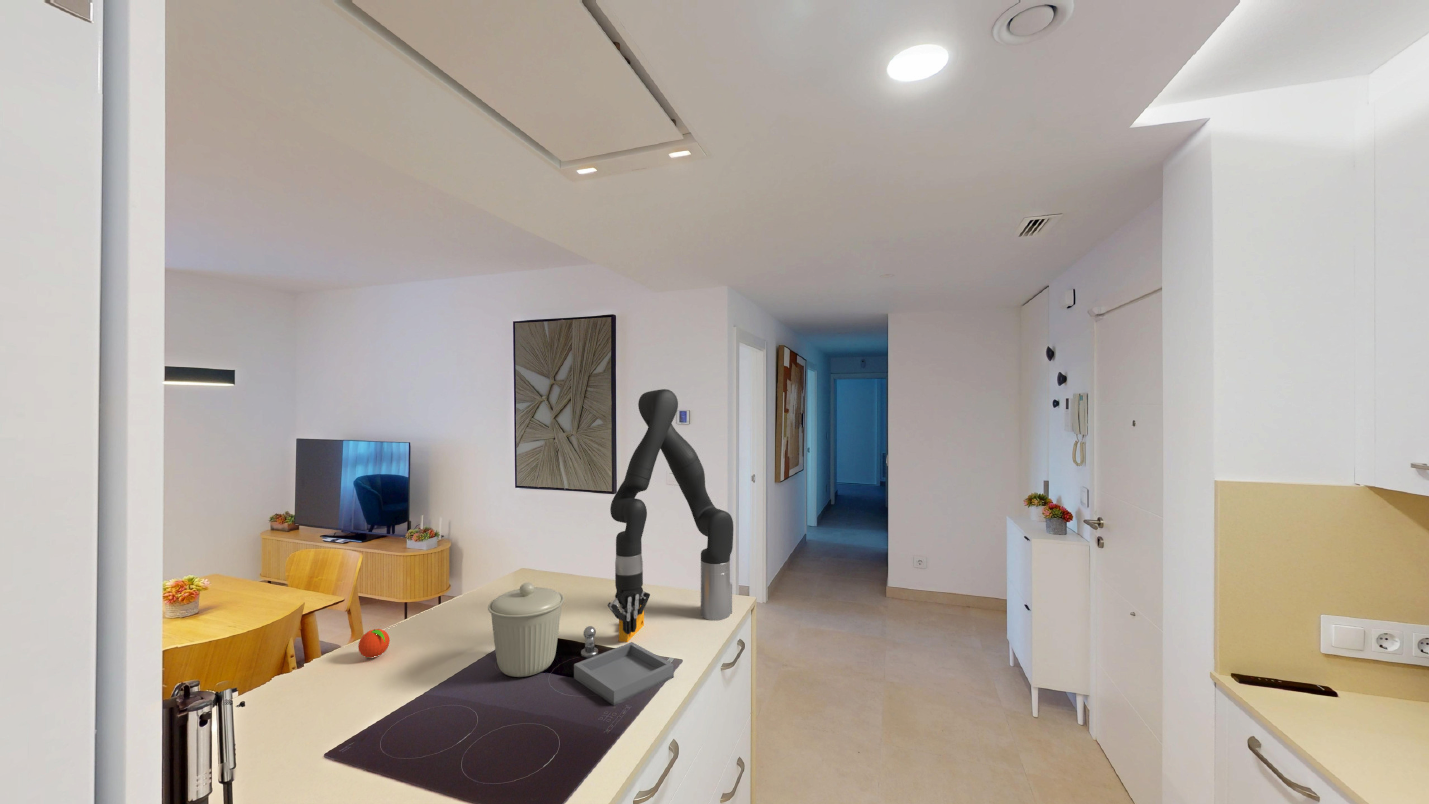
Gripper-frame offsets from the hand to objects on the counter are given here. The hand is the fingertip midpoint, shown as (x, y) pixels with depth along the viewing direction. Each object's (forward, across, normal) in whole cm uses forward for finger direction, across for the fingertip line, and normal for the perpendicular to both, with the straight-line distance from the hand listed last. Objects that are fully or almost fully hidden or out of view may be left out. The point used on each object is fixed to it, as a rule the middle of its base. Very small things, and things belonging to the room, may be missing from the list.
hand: (629, 632), depth 147 cm
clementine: (+3, +52, -41) cm, 66 cm away
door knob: (+3, +11, -2) cm, 12 cm away
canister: (+3, +26, -8) cm, 27 cm away
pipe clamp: (+4, -4, -6) cm, 8 cm away
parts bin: (+3, +12, +15) cm, 19 cm away
